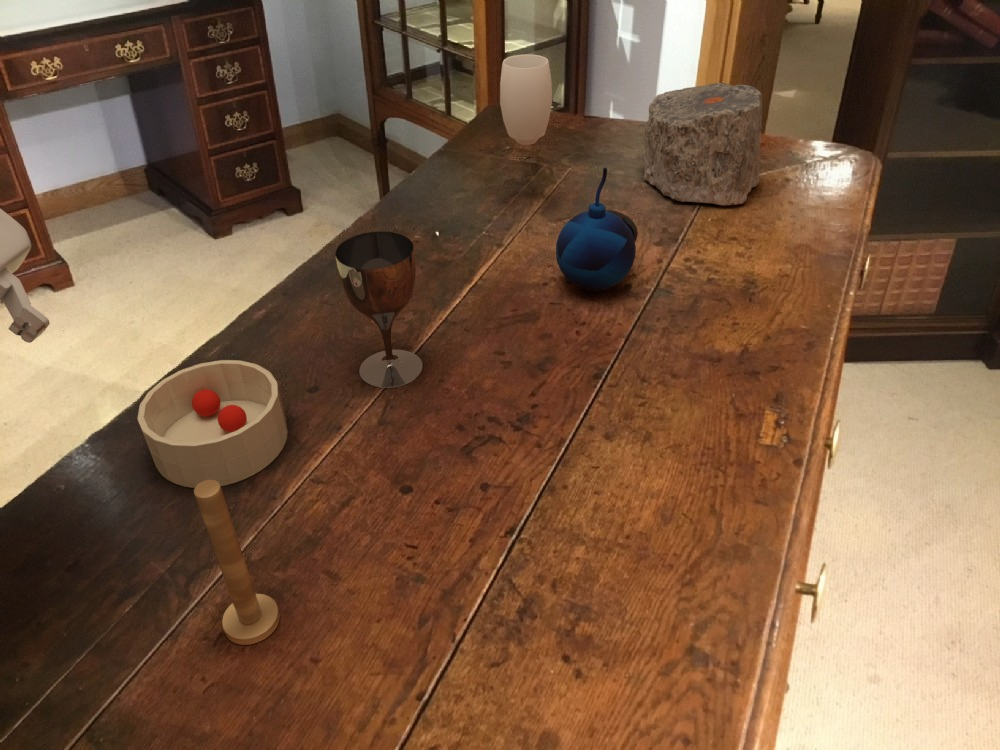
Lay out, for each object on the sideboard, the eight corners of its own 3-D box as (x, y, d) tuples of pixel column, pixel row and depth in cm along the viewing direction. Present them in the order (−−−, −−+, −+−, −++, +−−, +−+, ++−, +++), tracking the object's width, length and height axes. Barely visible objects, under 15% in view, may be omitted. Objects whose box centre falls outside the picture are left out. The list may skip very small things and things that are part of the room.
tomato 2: (250, 405, 86) (225, 395, 86) (236, 427, 84) (210, 417, 84) (252, 420, 88) (228, 410, 88) (239, 441, 86) (214, 431, 86)
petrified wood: (637, 159, 139) (643, 65, 130) (745, 157, 138) (758, 63, 129) (648, 210, 124) (656, 109, 115) (769, 209, 123) (786, 106, 114)
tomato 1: (213, 423, 89) (190, 411, 89) (228, 401, 90) (205, 388, 90) (207, 417, 86) (183, 404, 87) (222, 394, 87) (198, 381, 87)
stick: (212, 632, 68) (160, 499, 59) (249, 592, 71) (205, 459, 62) (255, 653, 66) (208, 519, 57) (291, 611, 69) (252, 478, 60)
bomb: (650, 273, 110) (659, 163, 101) (610, 313, 103) (616, 198, 94) (583, 255, 114) (586, 148, 105) (541, 291, 107) (540, 180, 98)
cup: (493, 204, 127) (487, 63, 115) (525, 187, 132) (522, 49, 119) (530, 217, 123) (528, 73, 111) (561, 200, 128) (563, 59, 115)
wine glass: (435, 379, 93) (423, 259, 84) (365, 397, 91) (345, 276, 82) (414, 341, 99) (401, 225, 90) (347, 358, 97) (327, 240, 88)
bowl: (131, 486, 82) (114, 443, 78) (183, 399, 92) (169, 358, 89) (265, 490, 80) (253, 447, 77) (302, 402, 91) (293, 361, 88)
